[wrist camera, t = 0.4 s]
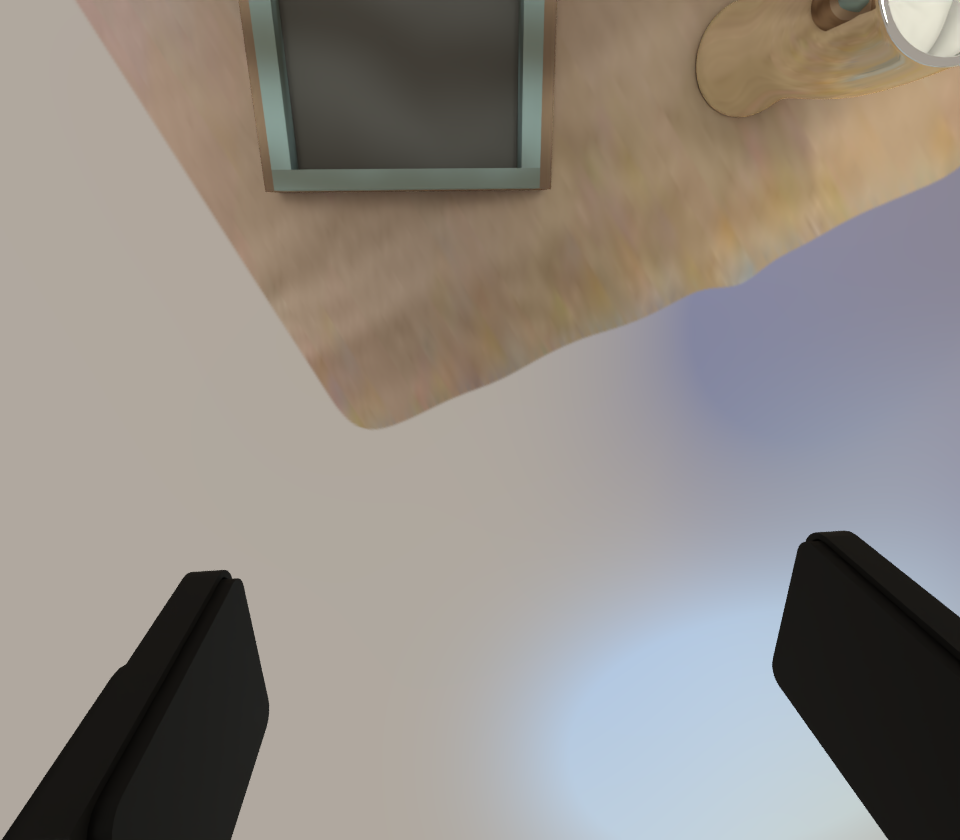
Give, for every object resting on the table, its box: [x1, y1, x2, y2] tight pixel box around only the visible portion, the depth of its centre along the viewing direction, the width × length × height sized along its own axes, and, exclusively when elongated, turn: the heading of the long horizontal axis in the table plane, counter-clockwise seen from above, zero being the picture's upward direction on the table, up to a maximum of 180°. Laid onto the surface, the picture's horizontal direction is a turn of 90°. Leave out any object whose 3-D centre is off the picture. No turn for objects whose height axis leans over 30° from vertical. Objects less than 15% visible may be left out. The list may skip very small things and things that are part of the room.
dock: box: [239, 0, 557, 192], centre depth 29 cm, size 14×16×5 cm
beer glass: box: [696, 0, 960, 117], centre depth 26 cm, size 7×7×15 cm
